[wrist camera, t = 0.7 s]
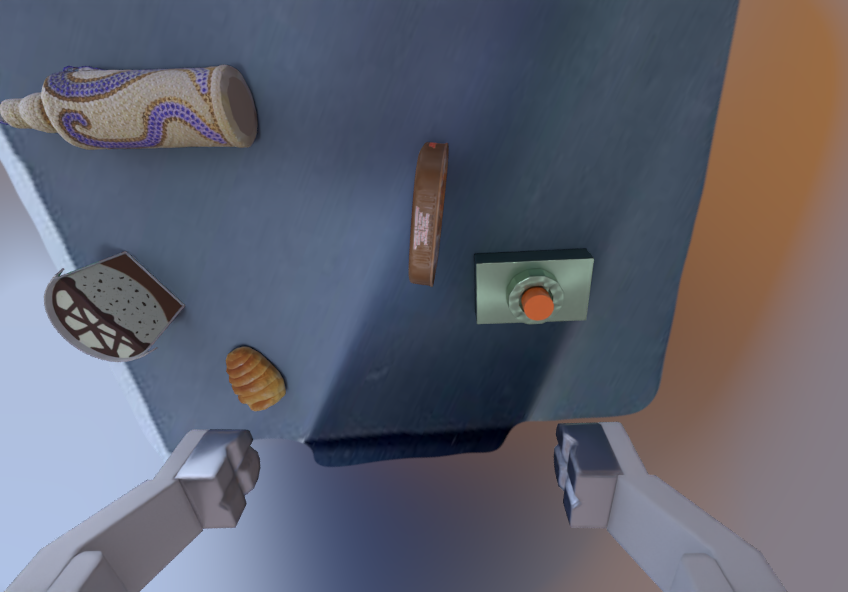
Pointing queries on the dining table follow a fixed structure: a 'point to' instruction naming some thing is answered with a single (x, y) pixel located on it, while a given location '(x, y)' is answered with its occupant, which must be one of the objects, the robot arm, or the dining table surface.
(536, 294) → the button
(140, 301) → the grey brown rounded block
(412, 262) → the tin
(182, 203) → the dining table surface
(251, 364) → the pastry
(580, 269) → the console
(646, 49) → the dining table surface
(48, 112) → the decorative bottle
